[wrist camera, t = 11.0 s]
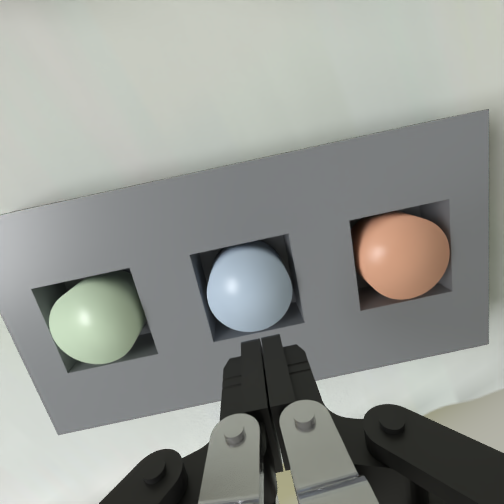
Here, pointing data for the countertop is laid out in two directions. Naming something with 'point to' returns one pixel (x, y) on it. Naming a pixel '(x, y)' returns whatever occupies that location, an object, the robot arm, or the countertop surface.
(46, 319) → the button panel
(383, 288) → the terracotta button
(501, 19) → the countertop surface
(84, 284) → the sage button
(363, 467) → the robot arm
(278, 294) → the slate button
